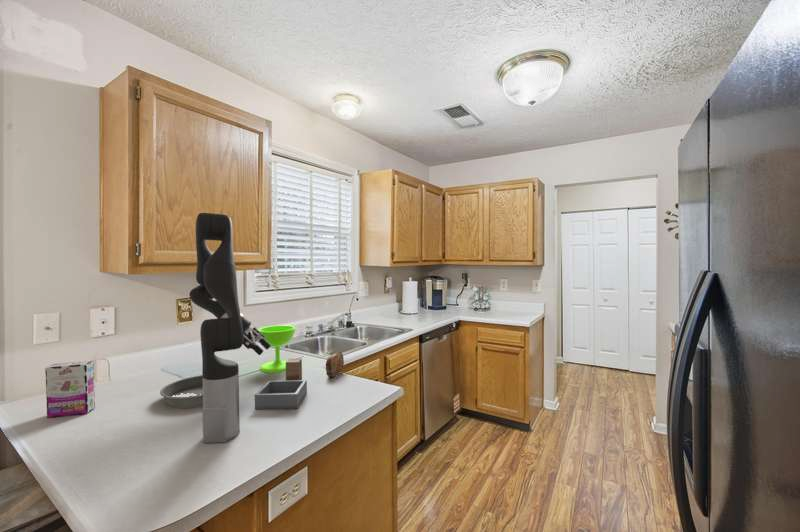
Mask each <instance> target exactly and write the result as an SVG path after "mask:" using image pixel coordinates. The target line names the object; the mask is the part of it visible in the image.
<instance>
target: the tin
mask: <svg viewBox="0 0 800 532" xmlns="http://www.w3.org/2000/svg"><path fill="white" fill-rule="evenodd" d="M344 359H345V358H344V355H343V353H342V352H335V353H333V354H332V355H330V356H328V357H327V359H326V361H325V371H326V375H327V377H330V378H332V377H333V378H335V377H337V374H338V373H339V374H340V373H341V372H342V371H343V369H344V362H345V361H344ZM339 374H338V375H339Z"/></svg>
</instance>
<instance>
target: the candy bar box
mask: <svg viewBox="0 0 800 532" xmlns="http://www.w3.org/2000/svg"><path fill="white" fill-rule="evenodd" d="M44 369H45V372H44V373H45V391H46V392H45V393H46V417H47V419H51V418H60V417H69V416H70V417H71V416H79V415H85V414H89V413H90V412H92V411H93V410H95V409H96V399H95V398H96V397H95V396H96V395H95V373H94V372H95V371H94V370H95V368H94V360H89V361H88V360H87V361H86V360H85V361H75V362H74V361H72V362H63V363H61V362H60V363H54V364H51V365H49V366H46V367H45V368H44ZM94 408H95V409H94ZM91 410H92V411H91Z"/></svg>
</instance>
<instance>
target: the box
mask: <svg viewBox="0 0 800 532" xmlns="http://www.w3.org/2000/svg"><path fill="white" fill-rule="evenodd" d="M307 381H308V380H307V379H302V380H288V381H286V380H268V381H267V382H266V383H265V384H264V385H263V386H262V387H261V388H260V389H259V390H258V391H257V392H256V393H254V411H266V410H267V411H271V410H273V411H274V410H298V409H299V408H300V405H302V402H303V401H304V400H305V397H306V396H307V394H308V387H307V386H308V385H307V384H308V382H307Z"/></svg>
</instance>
